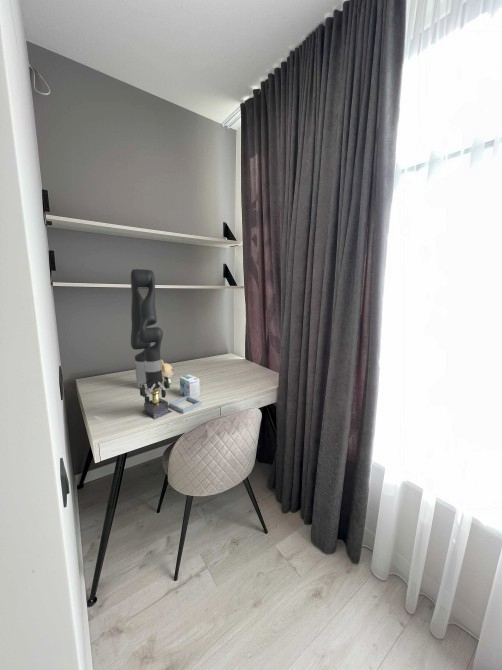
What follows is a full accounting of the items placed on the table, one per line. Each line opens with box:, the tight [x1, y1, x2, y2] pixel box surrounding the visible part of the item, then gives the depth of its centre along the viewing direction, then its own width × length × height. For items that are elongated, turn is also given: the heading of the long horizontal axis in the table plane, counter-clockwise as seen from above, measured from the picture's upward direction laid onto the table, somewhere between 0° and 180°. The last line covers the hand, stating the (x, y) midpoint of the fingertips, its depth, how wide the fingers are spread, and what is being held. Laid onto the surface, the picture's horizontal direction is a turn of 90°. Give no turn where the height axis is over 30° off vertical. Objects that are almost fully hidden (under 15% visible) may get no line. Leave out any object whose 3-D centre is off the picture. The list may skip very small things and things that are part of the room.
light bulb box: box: [179, 374, 201, 399], centre depth 154 cm, size 11×7×11 cm, turn 45°
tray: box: [168, 396, 202, 415], centre depth 140 cm, size 12×12×3 cm
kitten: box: [161, 359, 174, 389], centre depth 169 cm, size 15×10×15 cm
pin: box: [150, 388, 161, 405], centre depth 133 cm, size 4×4×11 cm
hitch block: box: [141, 397, 173, 421], centre depth 133 cm, size 12×10×6 cm
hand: (155, 400), depth 132 cm, fingers open, 8 cm apart
